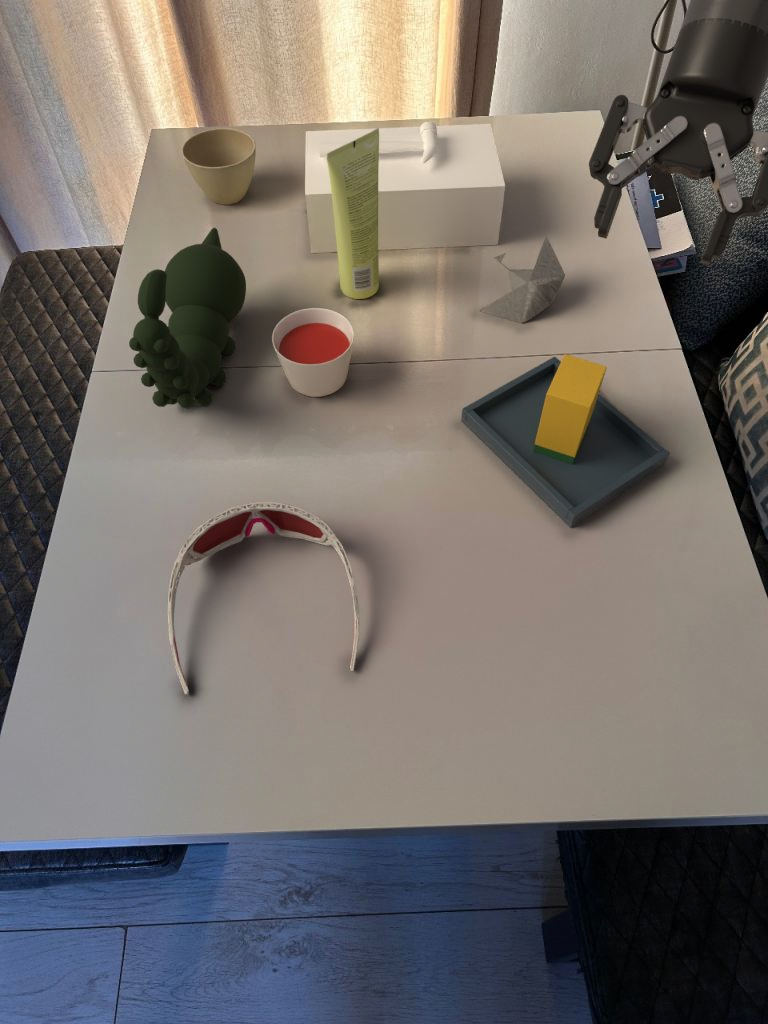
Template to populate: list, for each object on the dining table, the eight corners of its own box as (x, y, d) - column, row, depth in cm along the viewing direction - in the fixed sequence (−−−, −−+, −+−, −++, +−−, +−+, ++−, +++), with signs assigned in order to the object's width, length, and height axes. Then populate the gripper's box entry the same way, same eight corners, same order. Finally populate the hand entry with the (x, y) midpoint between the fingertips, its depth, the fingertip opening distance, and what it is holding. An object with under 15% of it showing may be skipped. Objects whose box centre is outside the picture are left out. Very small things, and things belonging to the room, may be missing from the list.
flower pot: (258, 215, 107) (250, 167, 101) (187, 215, 107) (175, 167, 101) (266, 174, 112) (259, 126, 107) (199, 174, 113) (188, 126, 107)
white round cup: (316, 417, 86) (311, 377, 80) (263, 377, 89) (255, 336, 84) (372, 375, 89) (370, 334, 84) (319, 338, 93) (314, 296, 88)
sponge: (588, 425, 84) (607, 366, 76) (572, 464, 81) (590, 407, 73) (549, 413, 85) (564, 353, 77) (532, 451, 82) (546, 393, 74)
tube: (343, 271, 100) (333, 124, 84) (382, 273, 100) (379, 126, 83) (337, 300, 97) (326, 153, 81) (377, 302, 96) (374, 155, 80)
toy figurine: (227, 443, 86) (264, 282, 98) (185, 326, 69) (236, 149, 81) (146, 438, 86) (193, 278, 99) (85, 320, 70) (150, 145, 82)
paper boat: (514, 336, 91) (458, 287, 92) (517, 347, 97) (464, 301, 99) (585, 257, 89) (527, 208, 91) (583, 274, 95) (528, 228, 97)
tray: (664, 465, 81) (670, 453, 80) (570, 528, 77) (574, 516, 75) (551, 369, 89) (554, 356, 88) (460, 421, 85) (462, 408, 83)
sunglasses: (345, 512, 78) (343, 491, 73) (367, 676, 71) (366, 664, 67) (174, 533, 77) (161, 513, 72) (180, 703, 70) (166, 692, 65)
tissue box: (497, 244, 103) (507, 168, 93) (311, 253, 102) (303, 177, 93) (484, 182, 111) (492, 106, 102) (311, 189, 110) (304, 114, 101)
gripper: (638, -2, 58) (565, 218, 61) (837, 33, 54) (748, 263, 58) (637, 42, 65) (572, 237, 68) (813, 76, 61) (735, 278, 65)
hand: (652, 249), depth 63 cm, fingers open, 8 cm apart
